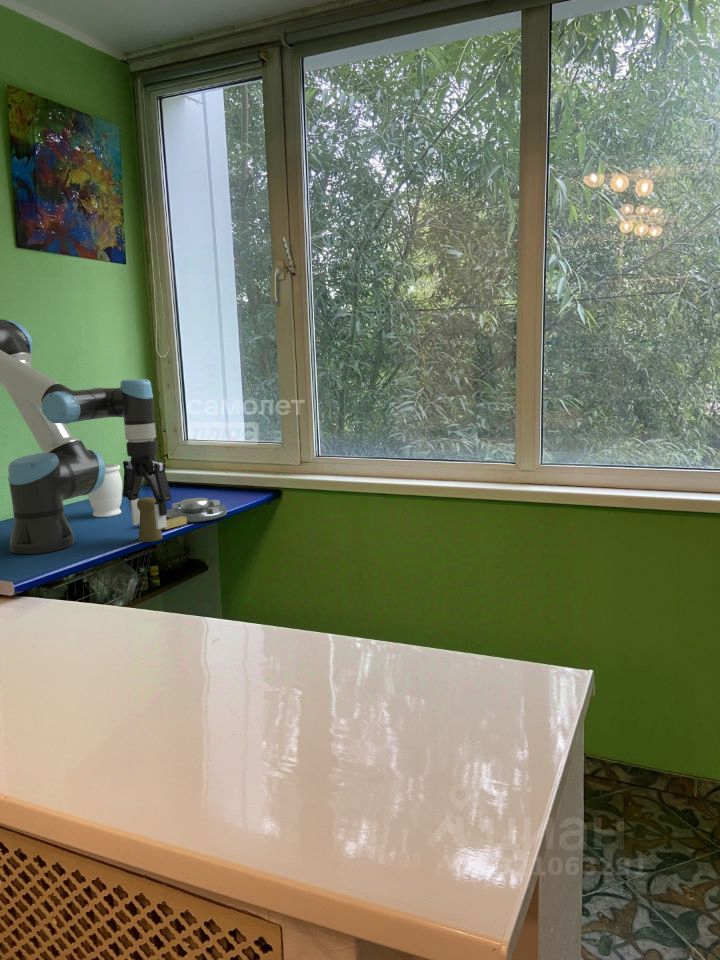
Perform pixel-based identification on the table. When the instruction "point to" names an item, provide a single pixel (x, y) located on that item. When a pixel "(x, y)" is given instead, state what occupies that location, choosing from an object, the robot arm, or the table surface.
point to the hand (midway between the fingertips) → (149, 525)
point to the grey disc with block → (193, 511)
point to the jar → (108, 493)
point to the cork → (148, 520)
